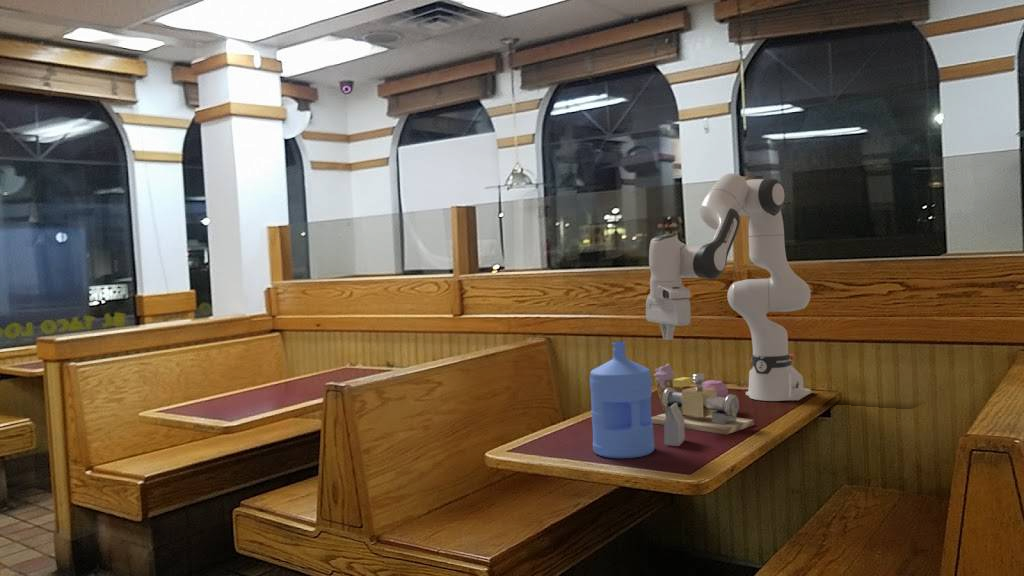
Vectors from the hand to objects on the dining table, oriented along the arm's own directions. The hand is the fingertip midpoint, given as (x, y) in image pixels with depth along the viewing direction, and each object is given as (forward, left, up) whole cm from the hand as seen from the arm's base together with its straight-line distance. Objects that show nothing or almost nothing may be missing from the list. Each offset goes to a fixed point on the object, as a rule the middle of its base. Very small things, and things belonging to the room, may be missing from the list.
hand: (667, 339), depth 238 cm
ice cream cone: (-15, -13, -25) cm, 32 cm away
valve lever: (-2, +6, -13) cm, 14 cm away
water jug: (+31, +8, -25) cm, 41 cm away
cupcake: (-22, 0, -25) cm, 34 cm away
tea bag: (+16, +13, -25) cm, 32 cm away
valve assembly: (-6, +6, -25) cm, 26 cm away
